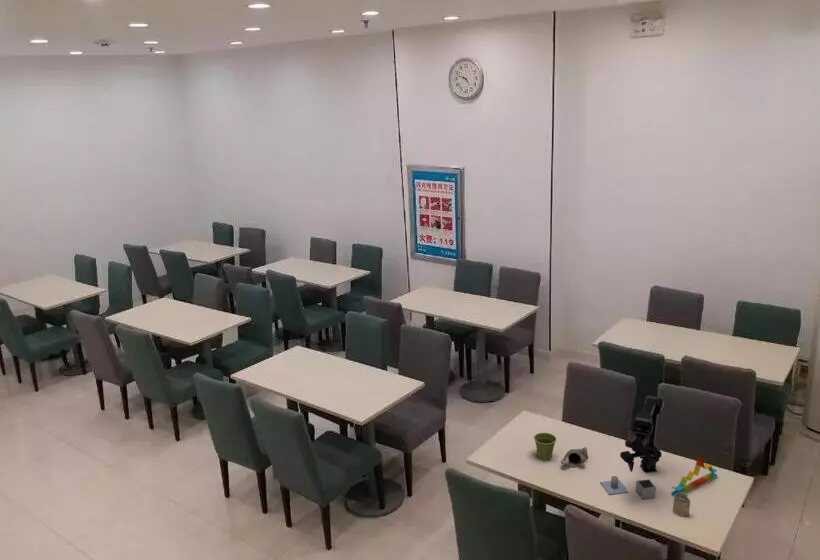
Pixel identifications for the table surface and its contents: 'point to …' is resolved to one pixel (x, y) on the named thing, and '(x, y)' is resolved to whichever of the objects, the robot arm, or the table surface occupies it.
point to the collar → (645, 489)
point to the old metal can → (681, 504)
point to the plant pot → (545, 445)
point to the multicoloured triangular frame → (687, 488)
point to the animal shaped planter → (575, 457)
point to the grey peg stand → (614, 486)
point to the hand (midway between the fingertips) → (639, 470)
